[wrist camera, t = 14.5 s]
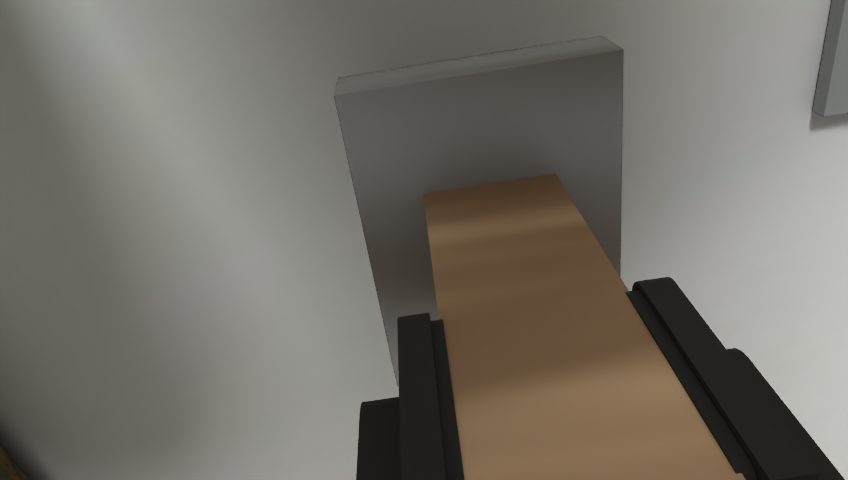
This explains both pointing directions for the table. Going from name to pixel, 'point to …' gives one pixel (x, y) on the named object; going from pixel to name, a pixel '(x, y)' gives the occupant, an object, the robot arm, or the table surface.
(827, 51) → the mat
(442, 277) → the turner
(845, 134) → the table surface
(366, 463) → the robot arm
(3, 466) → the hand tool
